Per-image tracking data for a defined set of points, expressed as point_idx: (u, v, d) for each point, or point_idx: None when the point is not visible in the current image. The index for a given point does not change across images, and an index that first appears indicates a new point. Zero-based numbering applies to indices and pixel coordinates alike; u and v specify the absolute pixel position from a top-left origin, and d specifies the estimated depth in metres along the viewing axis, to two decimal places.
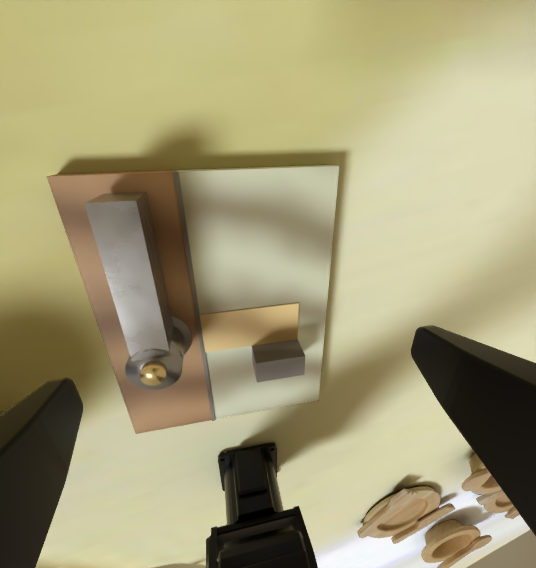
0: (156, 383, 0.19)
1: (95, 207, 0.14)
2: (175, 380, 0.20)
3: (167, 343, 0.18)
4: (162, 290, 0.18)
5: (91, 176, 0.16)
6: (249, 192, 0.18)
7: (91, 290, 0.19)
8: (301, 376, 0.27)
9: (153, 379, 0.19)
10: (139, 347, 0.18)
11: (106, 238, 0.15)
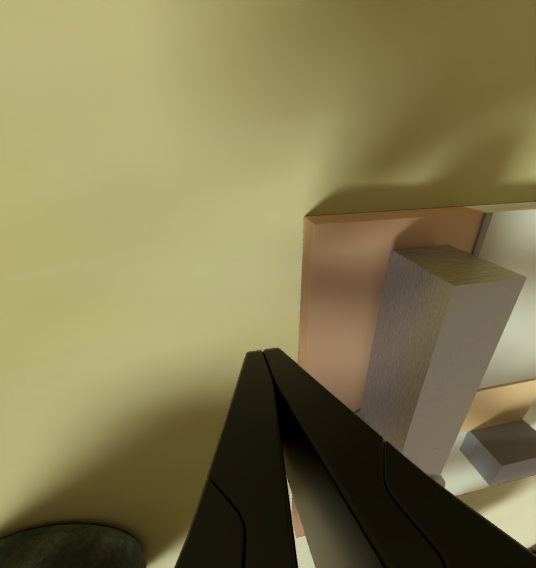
0: None
1: (466, 291, 0.08)
2: None
3: (441, 466, 0.12)
4: None
5: (376, 222, 0.10)
6: None
7: None
8: None
9: None
10: None
11: (452, 337, 0.09)
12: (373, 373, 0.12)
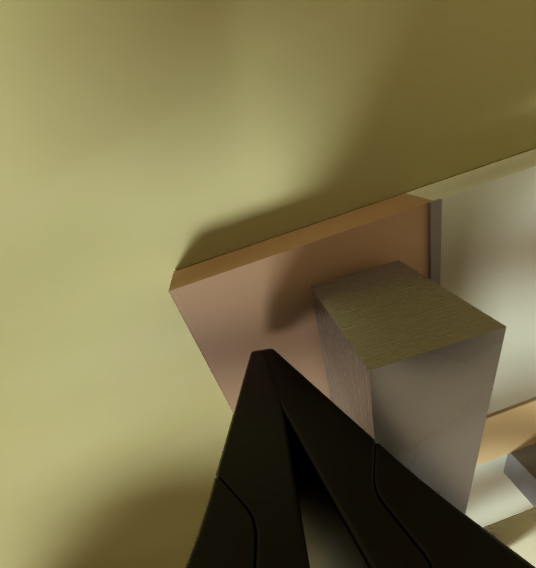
0: None
1: (395, 372, 0.05)
2: None
3: None
4: None
5: (258, 263, 0.07)
6: None
7: None
8: None
9: None
10: None
11: (401, 429, 0.05)
12: None
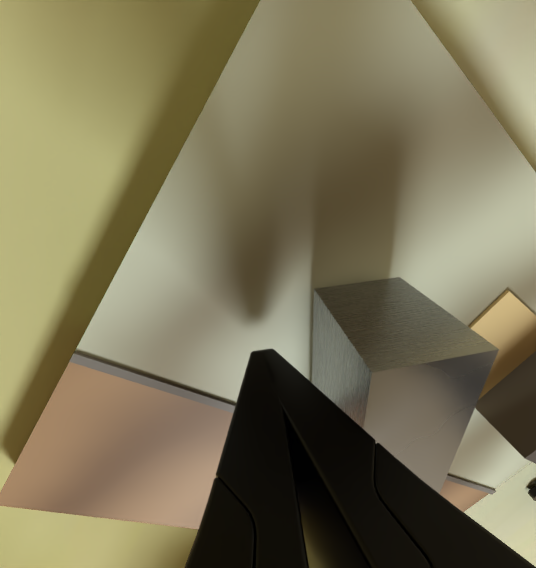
0: None
1: (395, 378, 0.05)
2: None
3: None
4: None
5: (18, 464, 0.09)
6: (206, 243, 0.07)
7: (197, 524, 0.12)
8: None
9: None
10: None
11: (387, 436, 0.06)
12: None
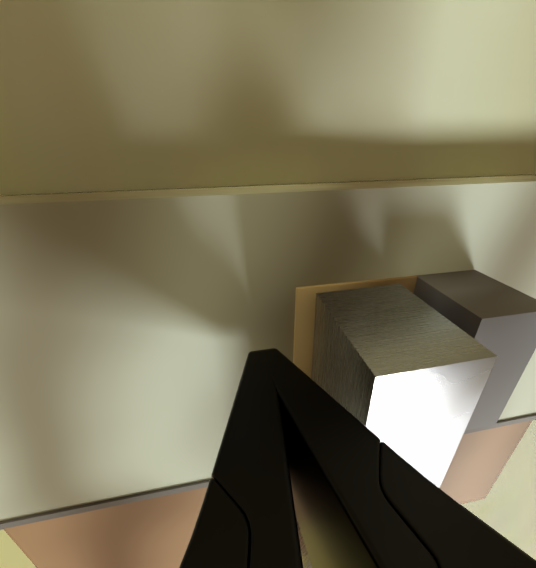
0: None
1: (397, 382, 0.05)
2: None
3: None
4: None
5: None
6: None
7: None
8: None
9: None
10: None
11: (387, 439, 0.06)
12: None
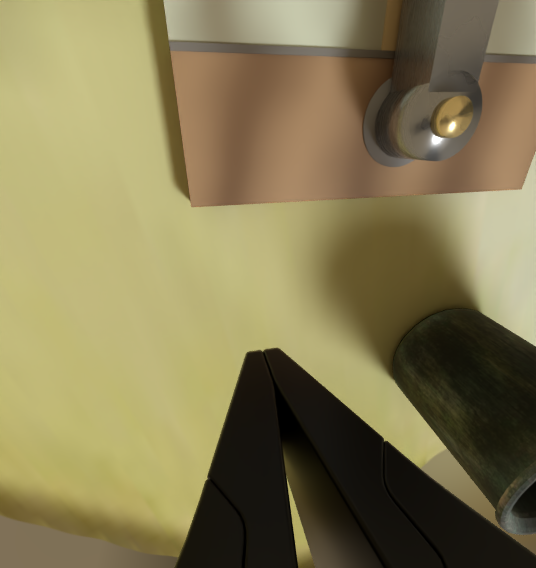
0: (454, 133, 0.13)
1: None
2: (461, 146, 0.14)
3: (480, 65, 0.12)
4: None
5: (186, 162, 0.15)
6: None
7: (316, 194, 0.17)
8: None
9: (454, 124, 0.13)
10: (447, 64, 0.12)
11: None
12: None
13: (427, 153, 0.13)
